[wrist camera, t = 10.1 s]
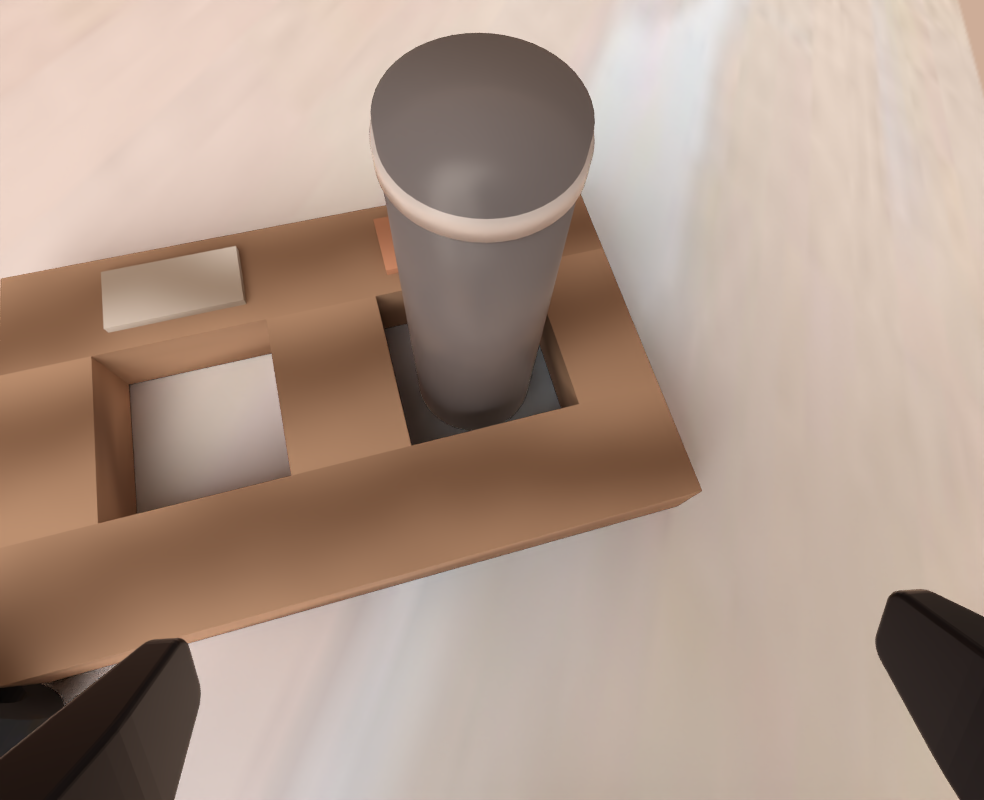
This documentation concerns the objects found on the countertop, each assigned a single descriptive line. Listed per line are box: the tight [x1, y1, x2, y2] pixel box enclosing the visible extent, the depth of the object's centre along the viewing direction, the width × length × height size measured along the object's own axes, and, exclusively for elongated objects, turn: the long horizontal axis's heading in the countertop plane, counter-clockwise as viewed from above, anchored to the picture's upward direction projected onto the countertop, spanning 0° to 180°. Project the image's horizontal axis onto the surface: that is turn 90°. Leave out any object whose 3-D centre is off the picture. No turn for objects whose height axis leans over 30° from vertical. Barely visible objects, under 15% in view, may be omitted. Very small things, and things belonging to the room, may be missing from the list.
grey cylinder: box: [369, 33, 595, 430], centre depth 18 cm, size 5×5×13 cm
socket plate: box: [0, 194, 702, 688], centre depth 22 cm, size 14×22×3 cm, turn 106°
